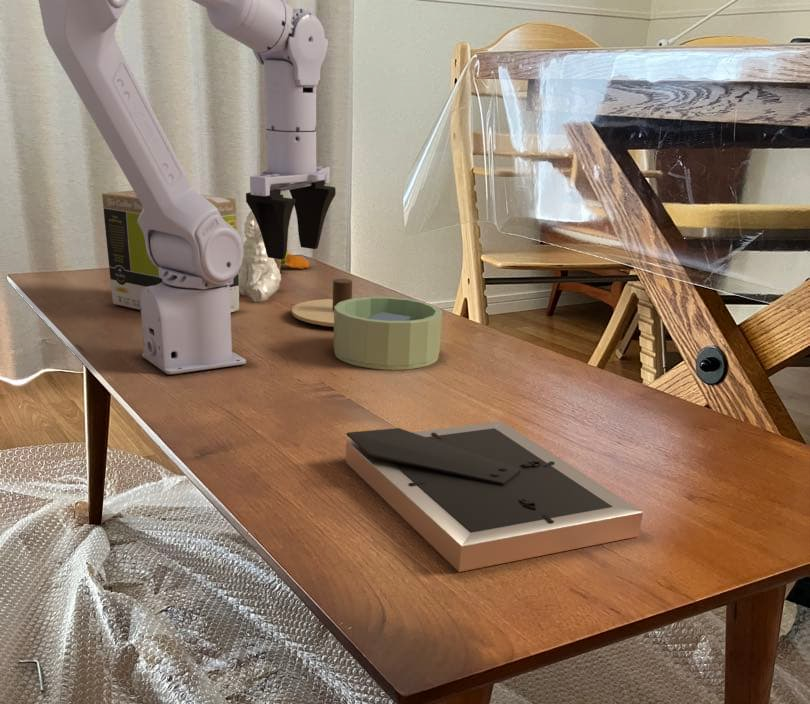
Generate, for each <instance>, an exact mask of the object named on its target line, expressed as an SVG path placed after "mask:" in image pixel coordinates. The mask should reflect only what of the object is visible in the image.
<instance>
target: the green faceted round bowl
mask: <svg viewBox="0 0 810 704" xmlns="http://www.w3.org/2000/svg"><path fill="white" fill-rule="evenodd" d="M380 312H385V313H391V314H397V315H403V316H409V317H410V321H384V320H373V319H366V318H368V317H370V316H373V315H375V314H377V313H380ZM442 323H443V311H442V309H440V308H439V306H437V305H434V304H431V303H429V302H426V301H424V300H423V301H422V300H419V299H413V298H405V297H395V296H363V297H354V298H353V297H352V299H348V300H345V301H341V302H339V303H338V304H337V305H336V306H335V307H334V327H333V350H334V351H333V352H334V355H335V357H336V358H337V359H339V360H340V361H342V362H344V363H347V364H349V365H353V366H356V367H361V368H366V369H373V370H383V371H385V370H386V371H404V370H405V371H406V370H414V369H419V368H425V367H428V366H430V365H433V364H435V363H436V362H437V361H438V360H439V356H440V355H439V354H440V352H441V351H440V349H441V336H442Z"/></svg>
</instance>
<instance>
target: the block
mask: <svg viewBox="0 0 810 704" xmlns="http://www.w3.org/2000/svg"><path fill="white" fill-rule="evenodd" d="M366 319H373V320H384V321H410V317H409V316H403V315H397V314H391V313H385V312H380V313H377V314H375V315H373V316H370V317H368V318H366Z"/></svg>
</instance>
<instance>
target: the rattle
mask: <svg viewBox="0 0 810 704" xmlns="http://www.w3.org/2000/svg"><path fill="white" fill-rule="evenodd" d="M274 260H275V262H276V263H277V268H278V269H279V271H281V266H285V267H289V268H290V269H297V270H305V269H309V267H310V263H309V261H308V260H306V258H305V257H303V256H301V255H293V254H291V253H289V251H288V249H287V252H286V257H285V259H274Z"/></svg>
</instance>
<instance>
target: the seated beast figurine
mask: <svg viewBox="0 0 810 704" xmlns="http://www.w3.org/2000/svg"><path fill="white" fill-rule="evenodd" d="M243 225H244V227H243V228H244V231H243V234H244V236H245V238H246V239H245V241H244V242H243V261H242V265H241V267H240V270H239V272H238V276H239V296H246V297H248V298H251V300H253V302H254V303H262V302H265V301H266V302H267V301H268V299H269V298H271V297H272V296H273V295H274V294H276V292H277V291H279V289H280V287H281V286H280V283H281V281H282V274H281V272H280V271H281V270H280V271H279V269H278V268H277V263H276V262H275V260H274V258H268V256H267V253H266V249H265V246H264V242H263V238H262V235H261V232H260V228H259V226H258V223H257V221H256V218H255V216H254V214H253V212H252V210H251V211H249V213H248V214H247V216H246V220H245V222H243Z"/></svg>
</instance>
